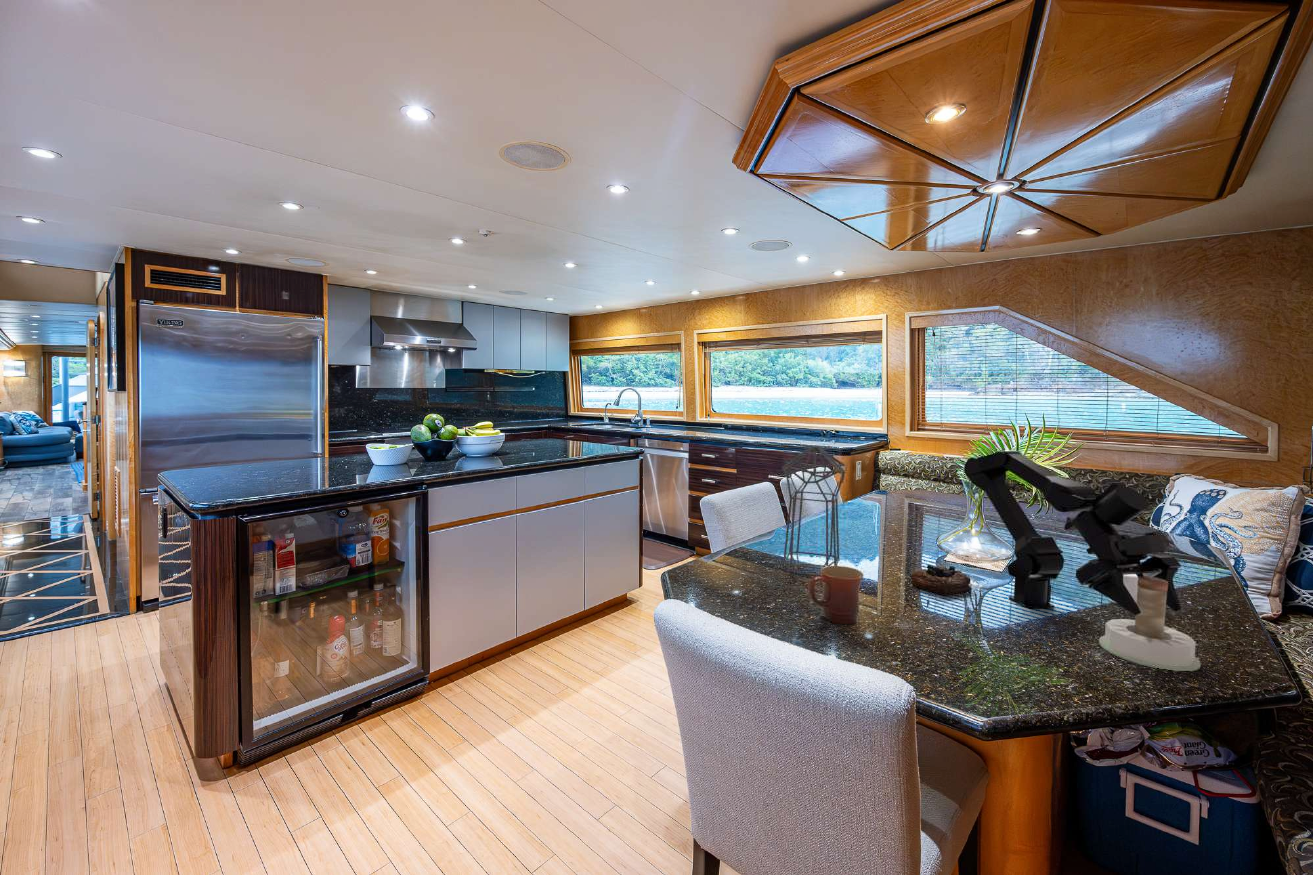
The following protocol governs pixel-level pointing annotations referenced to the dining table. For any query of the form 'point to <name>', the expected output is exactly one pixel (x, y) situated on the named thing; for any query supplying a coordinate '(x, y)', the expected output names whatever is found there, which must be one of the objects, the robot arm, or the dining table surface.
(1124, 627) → the white round base
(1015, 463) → the robot arm
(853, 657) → the dining table surface
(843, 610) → the mug
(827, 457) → the geometric lantern
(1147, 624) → the pin
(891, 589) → the dining table surface
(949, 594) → the pastry
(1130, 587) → the shot glass
